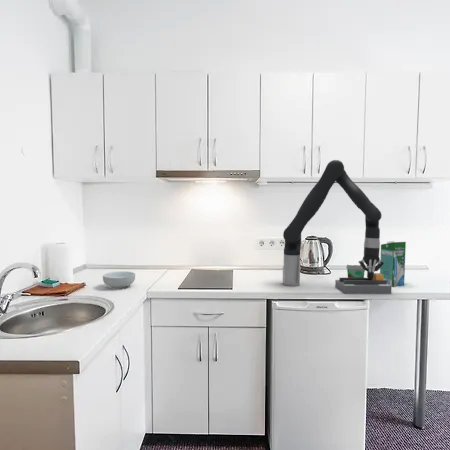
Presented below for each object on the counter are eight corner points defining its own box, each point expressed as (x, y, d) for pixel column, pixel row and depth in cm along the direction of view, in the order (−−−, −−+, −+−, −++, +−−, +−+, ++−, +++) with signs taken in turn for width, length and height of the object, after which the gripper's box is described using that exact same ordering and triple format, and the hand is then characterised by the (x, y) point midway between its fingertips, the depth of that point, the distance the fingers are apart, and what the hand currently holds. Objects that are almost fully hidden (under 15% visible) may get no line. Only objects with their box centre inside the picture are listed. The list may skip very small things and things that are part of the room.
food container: (352, 283, 191) (352, 266, 190) (345, 281, 197) (346, 264, 196) (370, 282, 194) (370, 265, 194) (363, 280, 200) (363, 263, 199)
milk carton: (391, 281, 195) (392, 239, 194) (404, 285, 187) (405, 241, 186) (379, 283, 192) (380, 240, 191) (392, 286, 184) (393, 242, 182)
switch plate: (344, 293, 168) (344, 282, 168) (335, 287, 182) (335, 276, 182) (391, 293, 168) (391, 282, 168) (378, 287, 182) (378, 276, 182)
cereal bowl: (101, 291, 170) (101, 278, 170) (104, 284, 186) (103, 272, 186) (135, 289, 175) (135, 276, 175) (135, 282, 191) (135, 270, 191)
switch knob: (375, 283, 173) (376, 274, 173) (372, 281, 177) (372, 273, 177) (383, 283, 173) (383, 274, 173) (379, 281, 177) (379, 273, 177)
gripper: (362, 247, 170) (360, 280, 171) (387, 247, 170) (386, 280, 171) (356, 245, 178) (355, 277, 179) (380, 245, 178) (379, 277, 179)
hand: (370, 278), depth 175 cm, fingers closed
